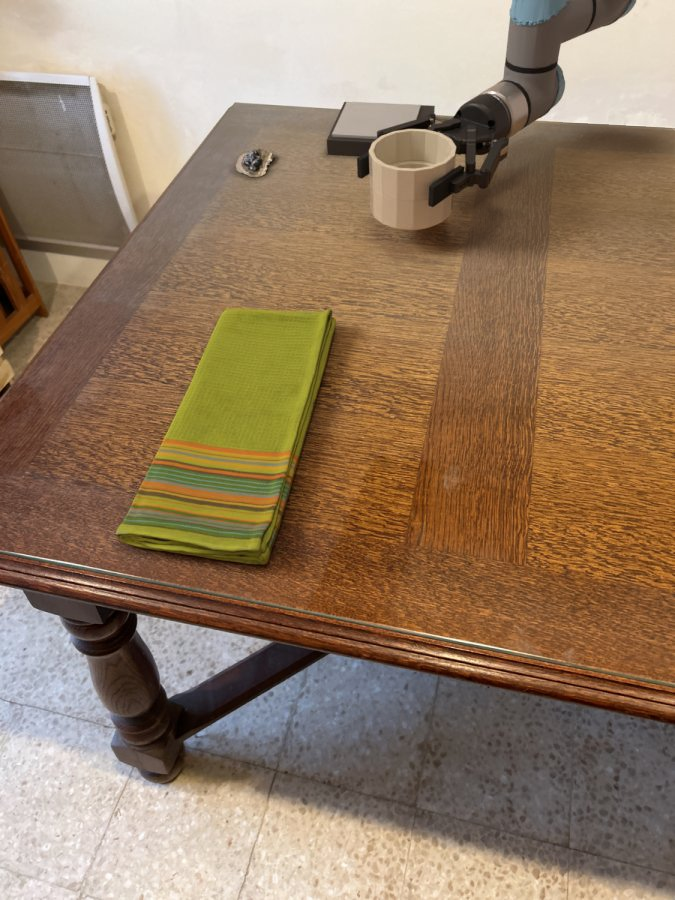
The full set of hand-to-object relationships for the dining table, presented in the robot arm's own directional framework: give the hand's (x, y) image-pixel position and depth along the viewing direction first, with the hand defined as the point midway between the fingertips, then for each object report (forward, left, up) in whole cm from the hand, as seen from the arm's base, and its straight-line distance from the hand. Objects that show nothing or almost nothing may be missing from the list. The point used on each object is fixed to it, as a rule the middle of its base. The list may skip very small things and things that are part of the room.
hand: (393, 182), depth 93 cm
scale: (+7, -31, -10) cm, 34 cm away
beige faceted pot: (-2, -3, -6) cm, 7 cm away
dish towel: (+11, +37, -10) cm, 39 cm away
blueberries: (+26, -19, -10) cm, 34 cm away
